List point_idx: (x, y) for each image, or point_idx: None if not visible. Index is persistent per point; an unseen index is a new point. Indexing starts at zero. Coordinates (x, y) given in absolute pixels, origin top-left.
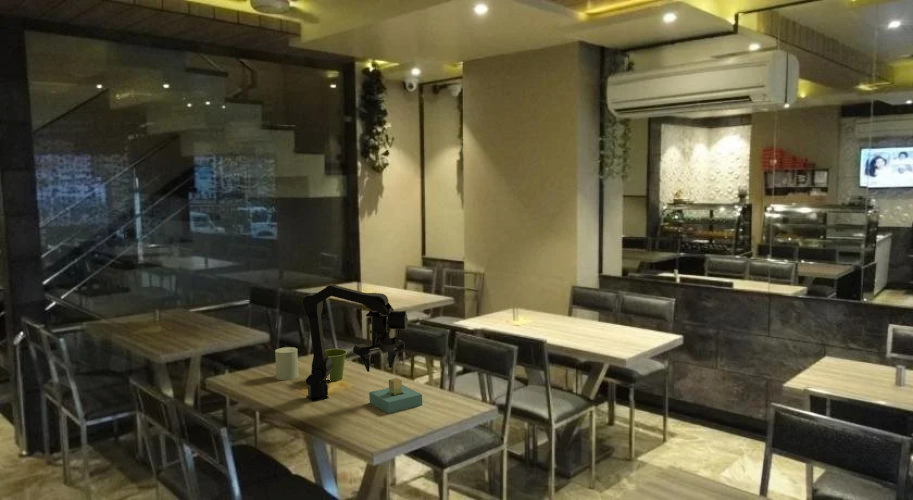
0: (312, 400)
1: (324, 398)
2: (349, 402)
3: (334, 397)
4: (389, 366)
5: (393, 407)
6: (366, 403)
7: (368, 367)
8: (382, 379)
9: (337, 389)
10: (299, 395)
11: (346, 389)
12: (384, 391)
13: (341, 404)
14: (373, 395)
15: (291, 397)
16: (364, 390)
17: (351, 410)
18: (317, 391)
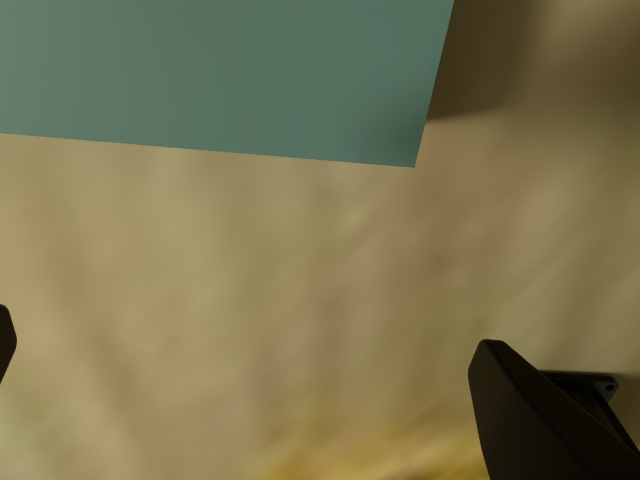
0: (617, 384)
1: (544, 375)
2: (490, 237)
3: None
4: (2, 348)
5: None
6: None
7: (552, 401)
8: (42, 444)
9: (367, 447)
10: None
11: (329, 425)
12: (272, 66)
13: (558, 239)
14: (434, 64)
15: None
16: (251, 361)
17: (636, 66)
18: (607, 429)
